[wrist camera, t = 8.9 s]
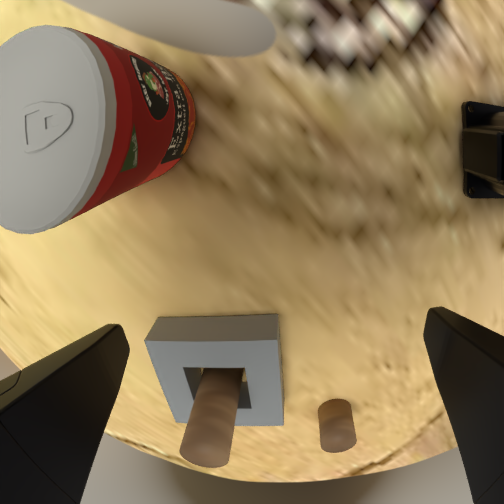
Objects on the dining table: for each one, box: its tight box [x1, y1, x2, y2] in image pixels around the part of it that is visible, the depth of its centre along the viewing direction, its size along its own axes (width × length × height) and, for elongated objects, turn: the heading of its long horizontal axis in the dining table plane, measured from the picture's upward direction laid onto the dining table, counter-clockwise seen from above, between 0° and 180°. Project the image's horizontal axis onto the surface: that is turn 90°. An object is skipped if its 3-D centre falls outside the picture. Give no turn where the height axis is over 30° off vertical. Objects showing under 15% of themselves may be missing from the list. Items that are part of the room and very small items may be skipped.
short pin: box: [318, 399, 357, 453], centre depth 24 cm, size 3×3×4 cm
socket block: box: [144, 314, 284, 426], centre depth 23 cm, size 9×9×3 cm
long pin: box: [180, 368, 244, 468], centre depth 20 cm, size 3×3×9 cm
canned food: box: [0, 25, 195, 234], centre depth 13 cm, size 8×8×11 cm
